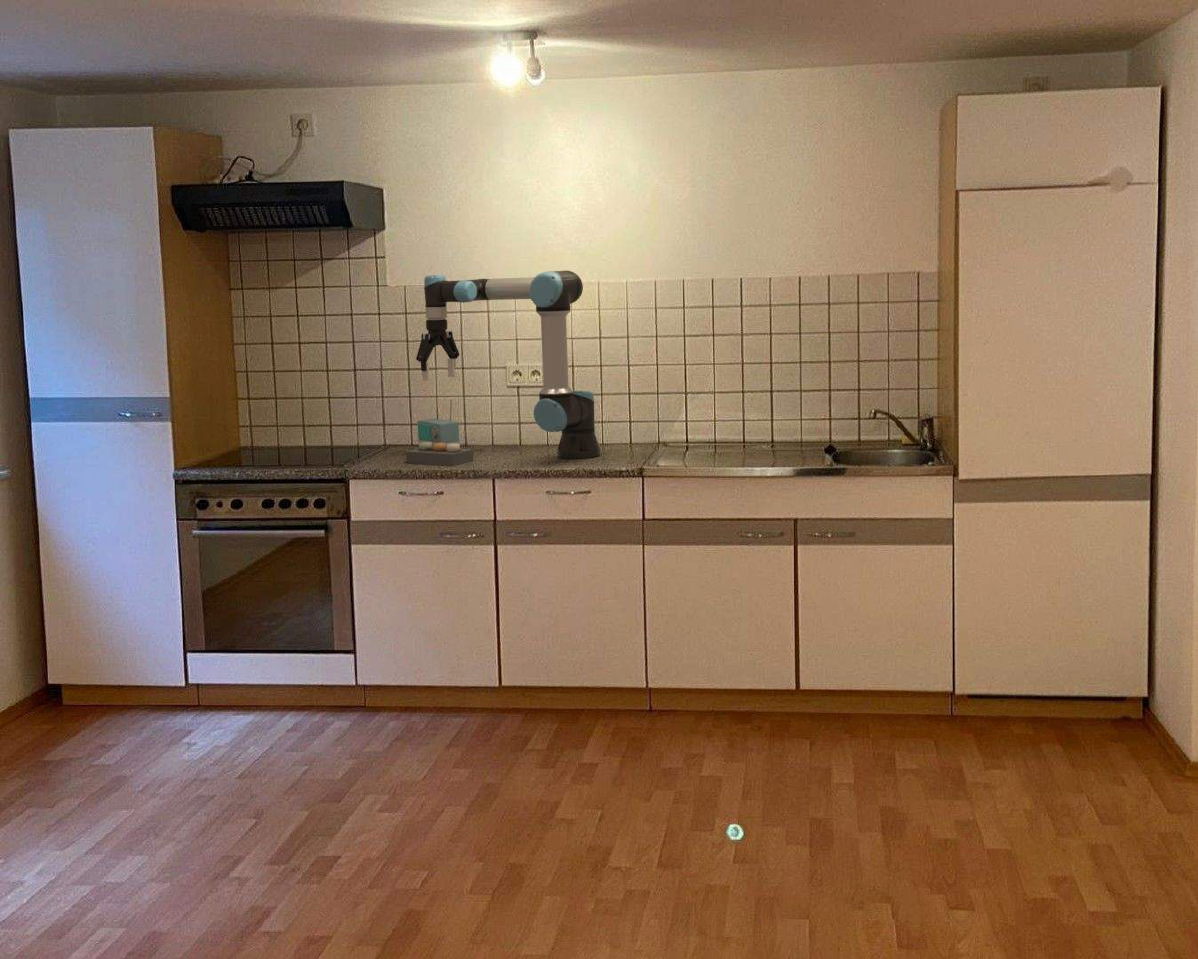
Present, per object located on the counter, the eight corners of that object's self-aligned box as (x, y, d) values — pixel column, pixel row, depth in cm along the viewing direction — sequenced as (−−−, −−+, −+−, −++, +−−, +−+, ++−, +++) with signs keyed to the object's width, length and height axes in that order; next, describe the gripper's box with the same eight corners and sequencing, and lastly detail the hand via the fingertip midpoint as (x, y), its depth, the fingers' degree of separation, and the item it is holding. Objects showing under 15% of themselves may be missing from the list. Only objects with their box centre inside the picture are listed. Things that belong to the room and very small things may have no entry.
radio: (416, 453, 535) (413, 398, 532) (437, 450, 540) (434, 396, 537) (438, 457, 523) (436, 401, 519) (460, 454, 528) (457, 399, 525)
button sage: (434, 449, 514) (434, 442, 514) (427, 450, 511) (426, 443, 510) (424, 448, 517) (424, 441, 516) (416, 450, 513) (416, 443, 513)
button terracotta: (448, 449, 511) (448, 442, 511) (440, 451, 508) (440, 444, 507) (438, 449, 514) (437, 442, 513) (430, 451, 510) (430, 443, 510)
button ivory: (462, 450, 508) (462, 443, 508) (454, 452, 505) (454, 445, 504) (452, 450, 511) (451, 443, 510) (444, 451, 507) (444, 444, 506)
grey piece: (473, 460, 511) (473, 449, 511) (452, 465, 501) (452, 454, 500) (427, 457, 521) (427, 446, 521) (406, 462, 511) (406, 451, 511)
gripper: (452, 316, 533) (454, 375, 537) (404, 321, 514) (407, 381, 517) (467, 317, 529) (469, 375, 532) (420, 321, 509) (422, 382, 513)
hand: (439, 378), depth 525 cm, fingers open, 13 cm apart
